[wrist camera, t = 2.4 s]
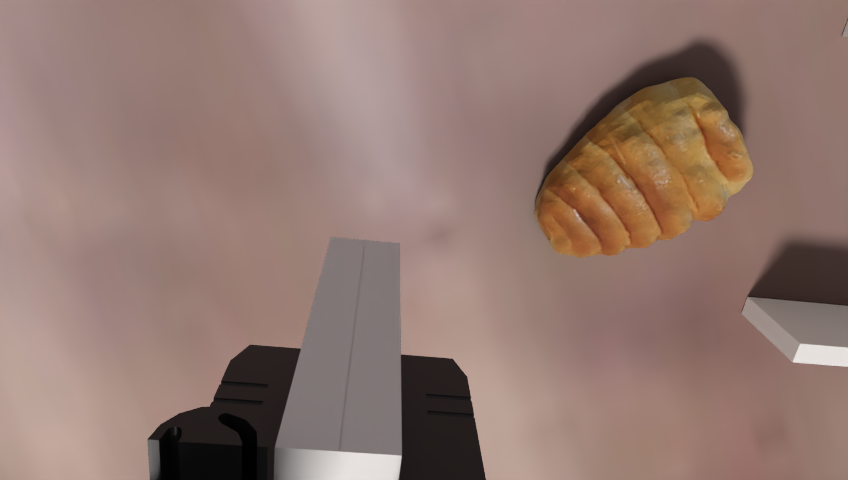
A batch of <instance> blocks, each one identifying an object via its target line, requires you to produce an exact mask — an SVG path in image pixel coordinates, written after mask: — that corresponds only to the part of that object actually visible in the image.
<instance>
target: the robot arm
mask: <svg viewBox="0 0 848 480" xmlns="http://www.w3.org/2000/svg"><path fill="white" fill-rule="evenodd" d="M148 456H149V471H150V480H486V478H485V473H484V467H483V462H482V456H481V451H480V445H479V440H478V434H477V429H476V423H475V418H474V412H473V407H472V401H471V396H470V390H469V385H468V379H467V376H466V375H465V374H464V372H463V371H462V370H461V369H460V368H459V366H458V365H457V364H456V363H455V361H454V360H453V359H449V358H437V357H424V356H411V355H401V328H400V243H391V242H380V241H370V240H359V239H348V238H338V237H331V238H330V242H329V245H328V249H327V253H326V257H325V260H324V264H323V268H322V272H321V275H320V279H319V283H318V287H317V291H316V294H315V298H314V302H313V306H312V309H311V313H310V317H309V321H308V324H307V328H306V332H305V336H304V339H303V343H302V347H301V349H297V348H284V347H272V346H259V345H249V346H248V347H247V348H246V349H244V350H243V351H242V352H241V353H239V354H238V355H237V356H236V357H234V358H233V359H232V360H231V361H230V363H229V365H228V367H227V369H226V372H225V374H224V376H223V378H222V381H221V385H219V387H218V389H217V392H216V394H215V396H214V401H213V402H212V403H211V405H210V407H200V408H197V409H193V410H190V411H186V412H183V413H179V414H178V415H176V416H174V417H173V418H171V419H169V420H167V421H166V422H164V423H162V424H161V425H160V426H159V427H158V428H157V429H156V430H155V431H154V433H153V434H152V435H151V436H150V437H149V438H148Z"/></svg>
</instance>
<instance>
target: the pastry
mask: <svg viewBox="0 0 848 480" xmlns="http://www.w3.org/2000/svg"><path fill="white" fill-rule="evenodd" d="M752 175H753V164H752V162H751V160H750V155H749V152H748V149H747V147H746V144H745V142H744V139H743V136H742V133H741V132H740V130H739V129H738V127H737V126H736V125H735V124H734V123H733V122H732V121H731V120H730V118H729V116H728V112H727V111H726V109H725V108H724V107H723V106H722V104H721V103H720V102H719V101H718V99H717V98H716V97H715V96H714V95H713V93H712V92H711V90H710V89H708V88H707V87H706V86H705V85H704V84H703V83H702V82H701V81H699V80H698V79H696V78H693V77H684V78H679V79H675V80H671V81H668V82H665V83H662V84H658V85H653V86H649V87H645V88H643V89H642V90H640V91H638V92H636V93H635V94H633V95H632V96H630V97H629V98H627V99H625V100H624V101H623V102H621V103H619V104H618V105H616V106H615V107H614V108H613V109H612V110H611V111H610V113H609V114H608V115H607V116H606V117H604V118H603V119H601V120H600V121H599V122H598V123H597V124H596V125H595V126H594V127H593V128H592V129H591V130H589V131H588V132H587V133H586V134H585V135H584V137H583V138H582V139H581V140H580V141H579V142H578V143H577V144H576V145H575V146H574V147H573V148H572V149H571V151H570V152H569V153H568V154H567V155H566V156H565V157H564V158H563V159H562V160H561V161H560V162H559V163H558V164H557V165H556V167H555V168H554V169H553V170H552V171H551V172H550V173H549V174H548V176H547V177H546V179H545V181H544V183H543V186H542V188H541V190H540V192H539V194H538V195H537V199H536V203H535V211H534V214H535V218H536V220H537V222H538V224H539V227H540V228H541V230H542V231H543V233H544V234H545V235H546V237H547V239H548V240H549V242H550V244H551V246H552V247H553V249H554V250H555V251H556V252H557V253H560V254H567V255H573V256H575V257H588V256H591V255H599V254H604V255H608V256H612V255H617V254H618V253H620V252H621V251H623V250H625V249H626V248H646V247H648V246H650V245H651V244H652V243H653V242H655V241H657V240H660V239H661V240H669V239H672V238H674V237H675V236H677V235H678V234H681V233H683V232H685V231H686V230H687V229H688V228H689V227H690V226H691V223H692V221H694V220H701V221H709V220H712V219H714V218H715V217H716V216H718V215H719V214H720V213H721V212H722V211H723V210H724V209H725V207H726V204H727V201H728V198H729V197H730V196H731V195H733V194H735V193H737V192H739V191H740V190H741V189H742V188H743V186H744V185H745V184H746V182H747V181H749V180H750V179H751V178H752Z"/></svg>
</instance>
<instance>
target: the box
mask: <svg viewBox="0 0 848 480" xmlns="http://www.w3.org/2000/svg"><path fill="white" fill-rule="evenodd" d="M842 37H847V38H848V21H847V24H846V26H845V29H844V32H843V35H842ZM741 314H742V315H743V316H745V317H746V318H747V319H748V320H749V321H750V322H751V323H752V324H753V325H754V326H755V327H756V328H757V329H758V330H759V331H760V332H761V333H762V334H763V335H764V336H766V337H767V338H768V339H769V340H770V341H771V342H772V343H773V344H774V345H775V346H776V347H777V348H778V349H779V350H780V351H781V352H782V353H783V354H784V355H785V356H787V357H788V358H789V359H790V360H791V361H792V362H796V363H809V364H821V365H834V366H846V367H848V306H844V305H833V304H822V303H811V302H800V301H789V300H777V299H766V298H755V297H747V299H746V302H745V305H744V308H743V310H742V313H741Z"/></svg>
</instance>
